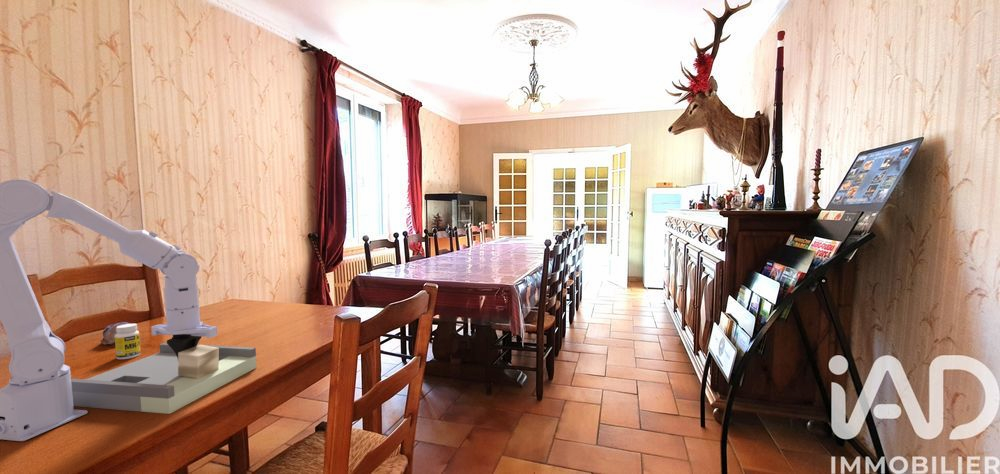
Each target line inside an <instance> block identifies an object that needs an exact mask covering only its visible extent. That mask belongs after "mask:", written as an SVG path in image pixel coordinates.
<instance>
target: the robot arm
mask: <svg viewBox="0 0 1000 474" xmlns="http://www.w3.org/2000/svg"><path fill="white" fill-rule="evenodd" d="M46 211H48V212H47V214H46V217H47V218H56V219H61V220H62V219H64V220H69V221H72V222H75V223H77V224H79V225H80V226H83V227H85V228H87V229H89V230H91V231H93V232H95V233H98V234H100V235H101V236H103V237H106V238H108V239H109V240H112V241H114V242H115V243H118V246H119V247H118V248H119V251H120V253H121V254H123V255H124V256H127V257H129V258H131V259H133V260H135V261H137V262H139V263H141V264H143V265H145V266H147V267H149V268H151V269H153V270H160V272H161V273H162V275H164V276H163V279H164V288H163V293H164V307H165V318H166V323H165V324H164V323H163V324H161V323H160V324H155V325H153V326H151V327H150V330H151V336H158V335H160V336H161V335H163V336H165V335H167V336H171V338H169V339H167V340H166V343H167V344H168V345H169V346H170V347H171V348H172V349H173V351H174V352H175V354H176V355H177V358H178V353H179V352H181V351H184V350H187V349H190V348H192V347H195V346H197V345H199V342H200V340H201V339H202V337H205V338H207V339H208V338H209V339H210V338H213V337H216V336H218V335H219V334H218V326H215V325H214V326H213V325H208V324H206V323H205V324H204V321H201V314H200V300H199V287H198V283H197V279H198V278H197V274H198V273H199V271H200V264H198V261H197V259H196V258H195V257H194V256H192V255H191V254H189V253H187V252H186V251H183V250H181V249H182V247H181V246H179V245H172V244H170V243H169V242H167V241H165V240H164V239H161V238H159V237H158V235H159V234H158V233H157V232H155V231H153V230H150V231H147V230H145V229H136V230H130V229H128V228H126V227H125V226H123V225H121V224H120V223H118V222H116V221H114V220H112V219H111V218H109V217H108V216H106V215H104V214H102V213H100V212H98V211H96V210H95V209H94V208H91V207H90V206H88V205H86V204H84V203H83V202H81V201H79V200H77V199H74V198H72V197H70V196H67V195H65V194H62V193H60V192H58V191H55V190H52V189H50V188H49V189H48V190H47V189H46V188H44V187H43V186H42V185H40V184H38V183H36V182H34V181H31V180H28V179H22V178H21V179H19V178H17V179H16V178H15V179H9V180H5V181H2V182H0V323H1V324H2V326H3V329H4V331H5V335H6V339H7V345H8V346H7V347H8V348H9V351H10V354H11V359H10V361H9V364H8V370H9V374H10V375H11V376H10V377H9V379H8V384H7V385H5V386H3V387H2V388H0V440H6V441H15V442H24V441H28V440H29V439H31V438H34V437H36V436H39V435H41V434H43V433H46V432H48V431H50V430H52V429H54V428H57V427H59V426H61V425H64V424H66V423H68V422H71V421H73V420H75V419H77V418H80V417H81V416H84V415H87V414H88V410H86V409H75V406H73V395H72V384H71V379H72V374H71V373H72V372H71V367H70V365H67V364H64V363H65V362H66V361H65V360H66V359H65V358H66V357H65V352H66V343H65V342H64V340H63V339H62V338H60V336H57V335H55V334H54V332H52V329H51V326H50V325H49V323H48V322H47V321H46V319H45V316H44V314H43V311H42V309H41V306H40V305H39V302H38V299H37V297H36V294H35V292H34V290H33V288H32V285H31V283H30V280H29V277H28V275H27V273H26V271H25V268H24V266H23V263H22V261H21V259H20V256H19V254H18V251H17V248H16V246H15V244H14V241H13V239H12V237H13V236H14V234H16V232H18V230H20V228H22V227H23V226H24V225H25V223H26V222H28V221H30V220H31V219H34V218H35V217H37V216H39V215H41V214H43V213H44V212H46Z"/></svg>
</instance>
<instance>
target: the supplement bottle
mask: <svg viewBox="0 0 1000 474" xmlns="http://www.w3.org/2000/svg"><path fill="white" fill-rule="evenodd" d="M116 331H117V334H116V335H115V343H114V344H115V345H114V346H115V358H116V359H117V360H128V359H133V358H136V357H139V356H140V355H141V353H142V352H141V339H140V332H139V330H138V323H130V324H125V325H120V326H117V327H116Z"/></svg>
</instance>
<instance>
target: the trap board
mask: <svg viewBox="0 0 1000 474" xmlns="http://www.w3.org/2000/svg"><path fill="white" fill-rule="evenodd" d="M198 345H199V344H197V346H198ZM204 345H205V346H211V347H216V348H219V369H218V370H216V371H214V372H212V373H209V374H207V375H205V376H203V377H201V378H198V379H195V378H190V377H185V376H180V375H178V358H177V355H176V354H175V352H174V351H173V349H172V348H171V347H170V346H169V345H168V344H167V342H163V343H160V344H158V346H159V352H156V353H154V354H151V355H148V356H146V357H144V358H140V359H138V360H134V361H133V362H129V363H127V364H124V365H121V366H119V367H115V368H113V369H111V370H107V371H105V372H101V373H100V374H96V375H93V376H91V377H88V378H85V379H83V378H71V384H72V395H73V406H74V407H82V408H94V409H103V410H104V409H107V410H119V411H128V412H129V411H130V412H141V413H142V412H144V413H155V414H166V415H167V414H170V415H171V414H172V413H174V412H176V411H178V410H180V409H182V408H183V407H185V406H187V405H189V404H191V403H193V402H194V401H197V400H198V399H200V398H202V397H205V396H206V395H208V394H209V393H211V392H213V391H216V390H217V389H219V388H220V387H222V386H224V385H227V384H228V383H230V382H232V381H234V380H236V379H237V378H240V377H241V376H244V375H246V374H247V373H249V372H252V370H255V369H257V353H256V350H257V349H256V347H250V346H249V347H248V346H232V345H231V346H230V345H229V346H228V345H213V344H212V345H209V344H204Z"/></svg>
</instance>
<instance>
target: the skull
mask: <svg viewBox="0 0 1000 474" xmlns="http://www.w3.org/2000/svg"><path fill="white" fill-rule="evenodd" d="M125 324H131V323H130V322H126V321H122V322H117V323H113V324H109V325H107V326H106V327H105V328H104V329H103V331H102V339H101V340H99V341H100V343H101V344H103V345H114V344H115V335H116V334H117V331H116V327H117V326H120V325H125Z"/></svg>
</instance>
